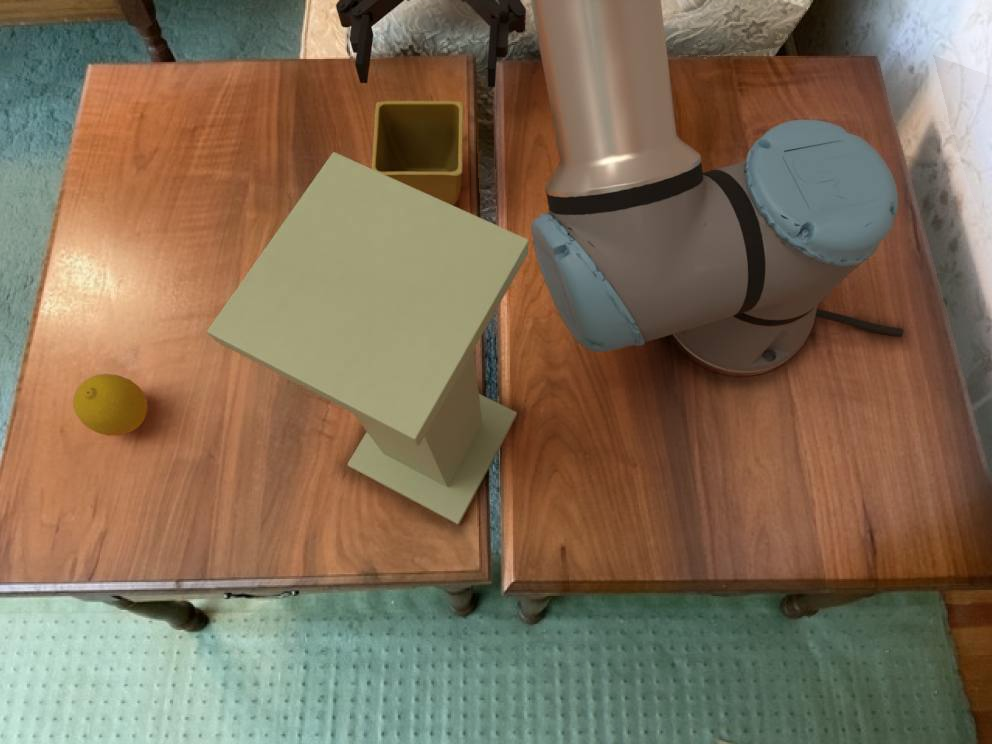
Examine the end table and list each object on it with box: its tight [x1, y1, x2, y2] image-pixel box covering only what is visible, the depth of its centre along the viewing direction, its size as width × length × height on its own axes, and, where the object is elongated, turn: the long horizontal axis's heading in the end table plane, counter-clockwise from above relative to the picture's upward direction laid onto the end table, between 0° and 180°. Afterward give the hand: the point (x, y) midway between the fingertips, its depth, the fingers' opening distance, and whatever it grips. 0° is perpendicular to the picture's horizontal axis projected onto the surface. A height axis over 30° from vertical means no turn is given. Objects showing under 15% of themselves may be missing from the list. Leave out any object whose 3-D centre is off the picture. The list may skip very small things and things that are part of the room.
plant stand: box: [206, 151, 530, 526], centre depth 51 cm, size 12×12×34 cm
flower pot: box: [371, 100, 464, 206], centre depth 72 cm, size 9×9×9 cm
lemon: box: [72, 373, 149, 437], centre depth 65 cm, size 6×6×8 cm
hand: (426, 76), depth 72 cm, fingers open, 13 cm apart
